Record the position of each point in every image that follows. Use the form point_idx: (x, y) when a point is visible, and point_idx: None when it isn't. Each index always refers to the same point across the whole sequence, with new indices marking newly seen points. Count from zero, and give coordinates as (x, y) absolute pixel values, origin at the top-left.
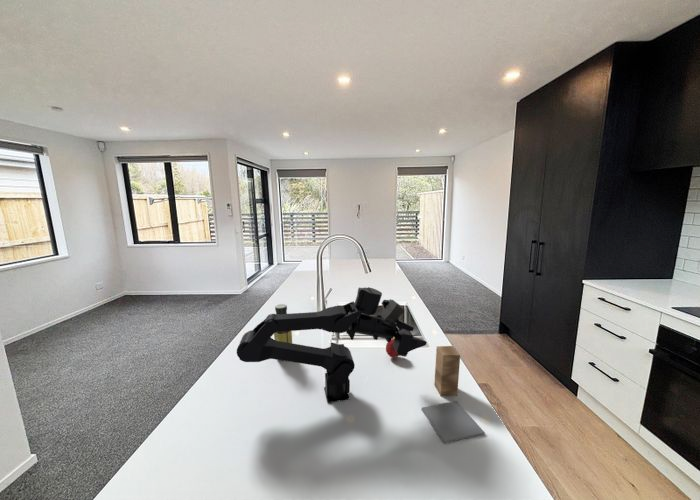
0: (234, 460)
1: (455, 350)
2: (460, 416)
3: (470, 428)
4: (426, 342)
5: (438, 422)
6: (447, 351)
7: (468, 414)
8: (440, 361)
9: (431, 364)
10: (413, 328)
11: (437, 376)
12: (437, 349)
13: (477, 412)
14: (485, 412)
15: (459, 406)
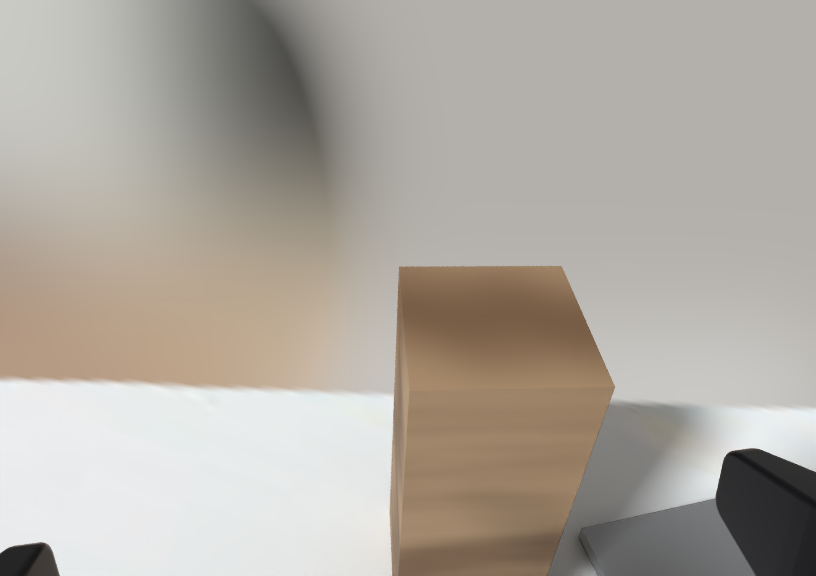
0: None
1: (485, 272)
2: (729, 560)
3: None
4: (757, 457)
5: None
6: (518, 329)
7: (690, 506)
8: (531, 461)
9: (116, 565)
10: (52, 560)
11: (458, 572)
12: (437, 407)
13: (631, 454)
14: (619, 419)
15: (634, 531)
